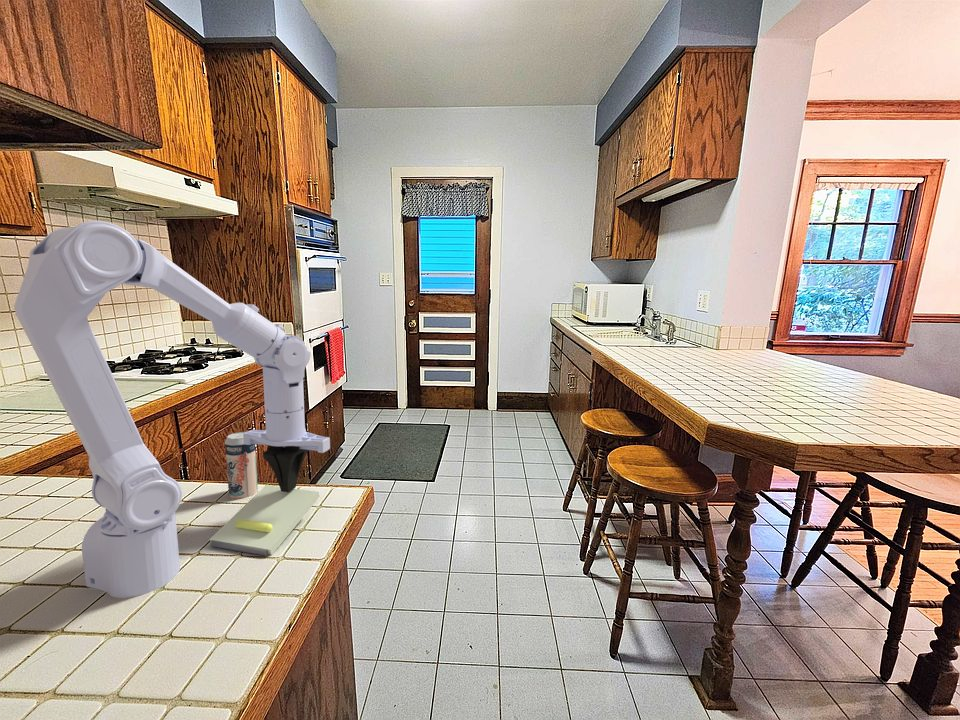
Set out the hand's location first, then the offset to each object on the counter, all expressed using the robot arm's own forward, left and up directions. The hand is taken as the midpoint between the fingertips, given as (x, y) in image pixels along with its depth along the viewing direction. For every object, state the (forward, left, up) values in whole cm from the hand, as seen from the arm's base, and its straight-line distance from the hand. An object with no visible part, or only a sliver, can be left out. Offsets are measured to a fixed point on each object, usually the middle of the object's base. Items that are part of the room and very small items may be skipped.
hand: (288, 489), depth 69 cm
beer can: (-13, +4, -6) cm, 15 cm away
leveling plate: (0, -5, -3) cm, 6 cm away
